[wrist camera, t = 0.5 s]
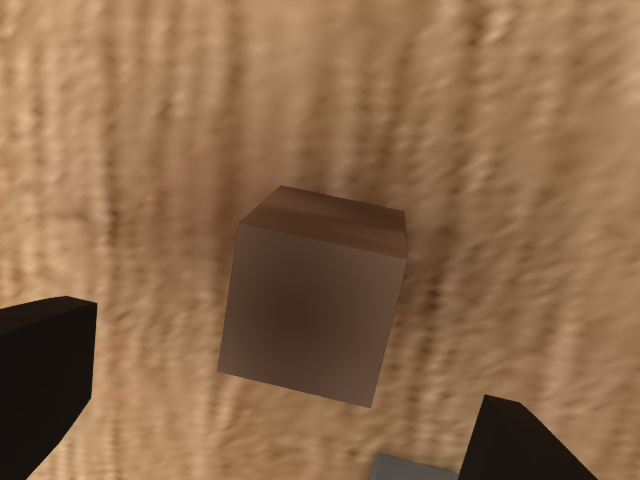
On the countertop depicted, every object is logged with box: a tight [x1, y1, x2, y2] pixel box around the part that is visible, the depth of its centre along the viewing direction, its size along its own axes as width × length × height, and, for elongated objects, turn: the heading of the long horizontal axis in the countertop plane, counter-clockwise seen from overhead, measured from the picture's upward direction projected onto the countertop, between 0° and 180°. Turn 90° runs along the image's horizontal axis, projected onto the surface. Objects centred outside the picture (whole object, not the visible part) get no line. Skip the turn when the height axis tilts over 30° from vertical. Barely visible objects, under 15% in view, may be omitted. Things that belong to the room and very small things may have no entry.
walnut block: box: [217, 186, 407, 408], centre depth 15 cm, size 4×4×5 cm
